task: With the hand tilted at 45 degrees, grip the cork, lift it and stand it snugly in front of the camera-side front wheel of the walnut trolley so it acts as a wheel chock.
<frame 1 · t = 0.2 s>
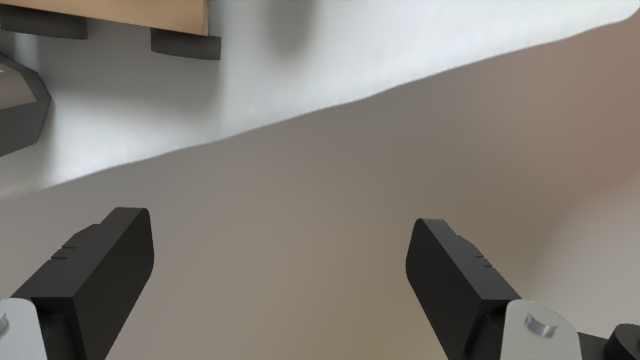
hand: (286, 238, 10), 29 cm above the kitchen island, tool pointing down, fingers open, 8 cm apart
liquor: (2, 97, 35), on the kitchen island
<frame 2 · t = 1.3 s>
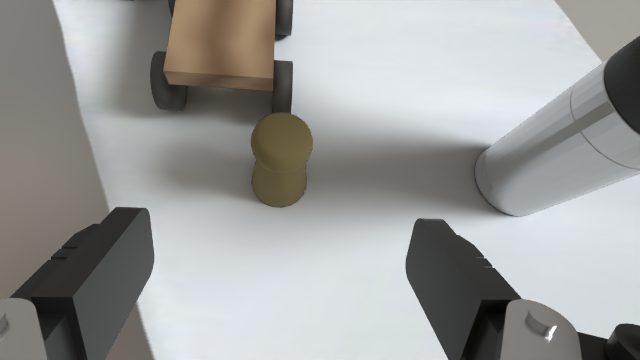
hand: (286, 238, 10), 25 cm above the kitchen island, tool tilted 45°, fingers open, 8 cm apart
cork: (279, 181, 37), on the kitchen island
trolley: (233, 60, 42), on the kitchen island
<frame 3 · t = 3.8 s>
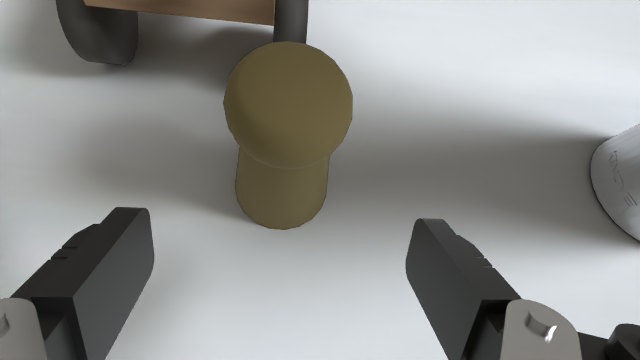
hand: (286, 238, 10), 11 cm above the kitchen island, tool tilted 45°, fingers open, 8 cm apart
cork: (281, 185, 23), on the kitchen island
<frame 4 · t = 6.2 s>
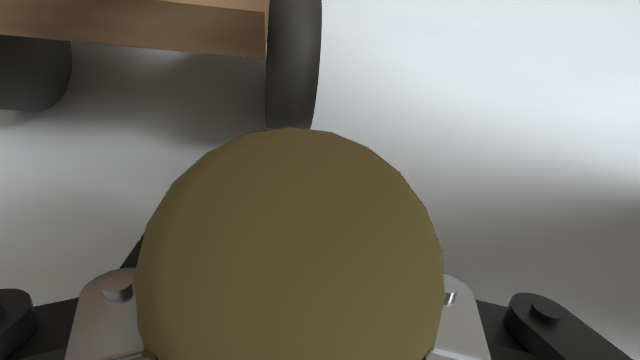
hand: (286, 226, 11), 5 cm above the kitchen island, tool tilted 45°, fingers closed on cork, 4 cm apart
cork: (280, 294, 15), on the kitchen island, touching gripper
trolley: (188, 6, 20), on the kitchen island
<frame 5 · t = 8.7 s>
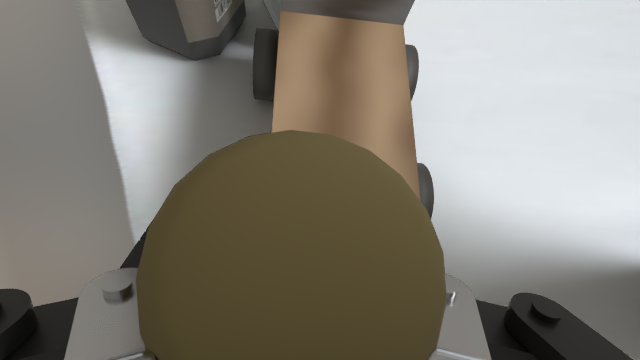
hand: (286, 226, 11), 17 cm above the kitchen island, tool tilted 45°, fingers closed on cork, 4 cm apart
cork: (280, 295, 15), point 12 cm above the kitchen island, touching gripper
small box: (302, 21, 37), on the kitchen island
trolley: (327, 144, 32), on the kitchen island
liquor: (194, 24, 35), on the kitchen island
when the fingers open (6 cm above the kitchen island, at t = 11.4 s): cork drops 1 cm, on the kitchen island.
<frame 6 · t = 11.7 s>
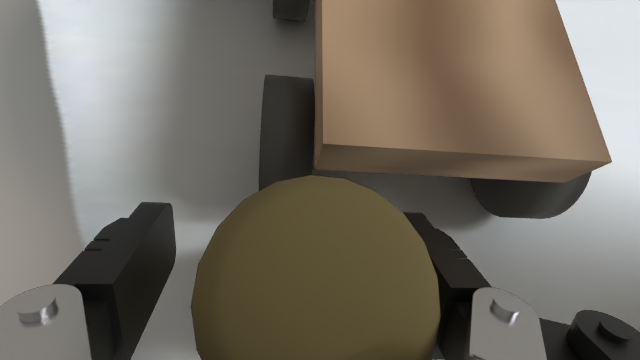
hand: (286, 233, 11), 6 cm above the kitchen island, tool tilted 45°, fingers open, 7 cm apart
cork: (290, 303, 16), on the kitchen island
trolley: (381, 87, 21), on the kitchen island
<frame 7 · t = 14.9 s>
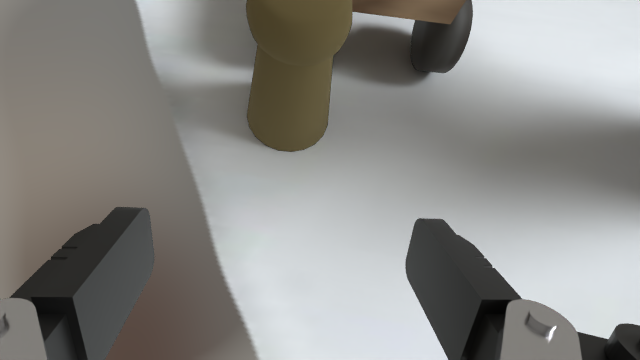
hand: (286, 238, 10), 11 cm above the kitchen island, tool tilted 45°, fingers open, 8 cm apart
cork: (288, 116, 25), on the kitchen island
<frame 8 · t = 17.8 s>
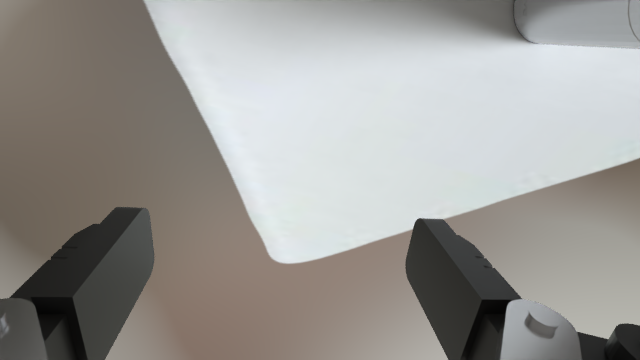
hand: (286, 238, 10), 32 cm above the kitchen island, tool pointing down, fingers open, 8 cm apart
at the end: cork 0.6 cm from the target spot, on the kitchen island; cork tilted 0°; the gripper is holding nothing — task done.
